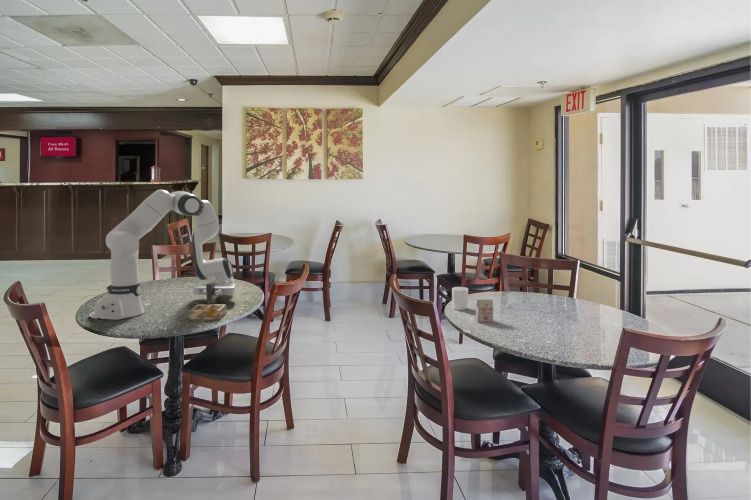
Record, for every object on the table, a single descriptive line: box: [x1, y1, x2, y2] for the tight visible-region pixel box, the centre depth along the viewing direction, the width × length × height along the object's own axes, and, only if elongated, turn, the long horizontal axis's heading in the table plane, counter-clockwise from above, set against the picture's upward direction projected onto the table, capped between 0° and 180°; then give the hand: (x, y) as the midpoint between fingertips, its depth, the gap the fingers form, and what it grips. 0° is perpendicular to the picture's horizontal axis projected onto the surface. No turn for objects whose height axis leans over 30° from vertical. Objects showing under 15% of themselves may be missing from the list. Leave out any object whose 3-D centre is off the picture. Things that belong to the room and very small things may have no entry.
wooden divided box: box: [188, 304, 228, 320], centre depth 212 cm, size 14×12×5 cm
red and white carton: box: [475, 299, 494, 324], centre depth 207 cm, size 4×7×10 cm, turn 95°
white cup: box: [451, 286, 469, 311], centre depth 227 cm, size 8×8×10 cm
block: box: [205, 281, 217, 305], centre depth 225 cm, size 2×5×12 cm, turn 2°
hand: (210, 293), depth 224 cm, fingers open, 3 cm apart
